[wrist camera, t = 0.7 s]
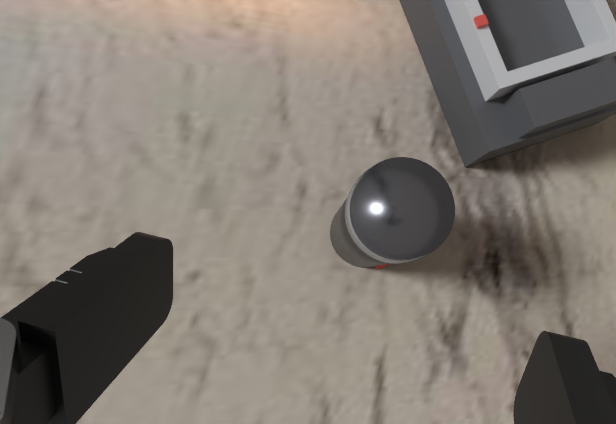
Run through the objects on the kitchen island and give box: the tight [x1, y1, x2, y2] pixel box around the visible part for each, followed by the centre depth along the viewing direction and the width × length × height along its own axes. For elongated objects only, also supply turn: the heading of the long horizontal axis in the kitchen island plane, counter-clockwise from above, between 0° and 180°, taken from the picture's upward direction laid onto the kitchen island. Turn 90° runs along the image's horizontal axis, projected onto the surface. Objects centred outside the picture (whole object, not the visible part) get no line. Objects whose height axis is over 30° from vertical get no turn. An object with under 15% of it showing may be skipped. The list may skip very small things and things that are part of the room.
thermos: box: [330, 157, 455, 270], centre depth 27 cm, size 5×5×11 cm
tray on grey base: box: [400, 0, 616, 167], centre depth 31 cm, size 14×10×6 cm
